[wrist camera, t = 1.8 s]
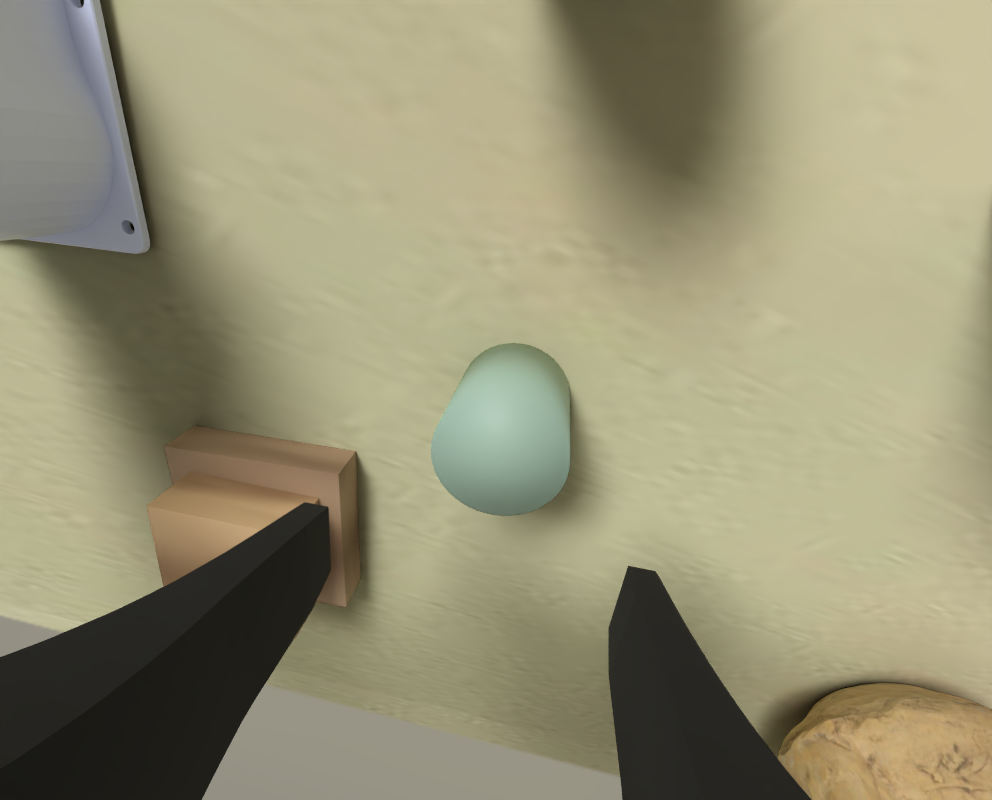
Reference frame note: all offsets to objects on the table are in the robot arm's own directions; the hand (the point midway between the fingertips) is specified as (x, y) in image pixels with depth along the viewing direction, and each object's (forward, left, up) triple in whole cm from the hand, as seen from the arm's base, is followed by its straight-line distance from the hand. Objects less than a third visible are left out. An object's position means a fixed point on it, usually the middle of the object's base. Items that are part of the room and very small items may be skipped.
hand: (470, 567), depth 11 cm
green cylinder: (0, 0, -10) cm, 10 cm away
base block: (+8, -11, -10) cm, 17 cm away
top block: (+8, -11, -8) cm, 16 cm away
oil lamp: (+15, +22, -10) cm, 28 cm away
